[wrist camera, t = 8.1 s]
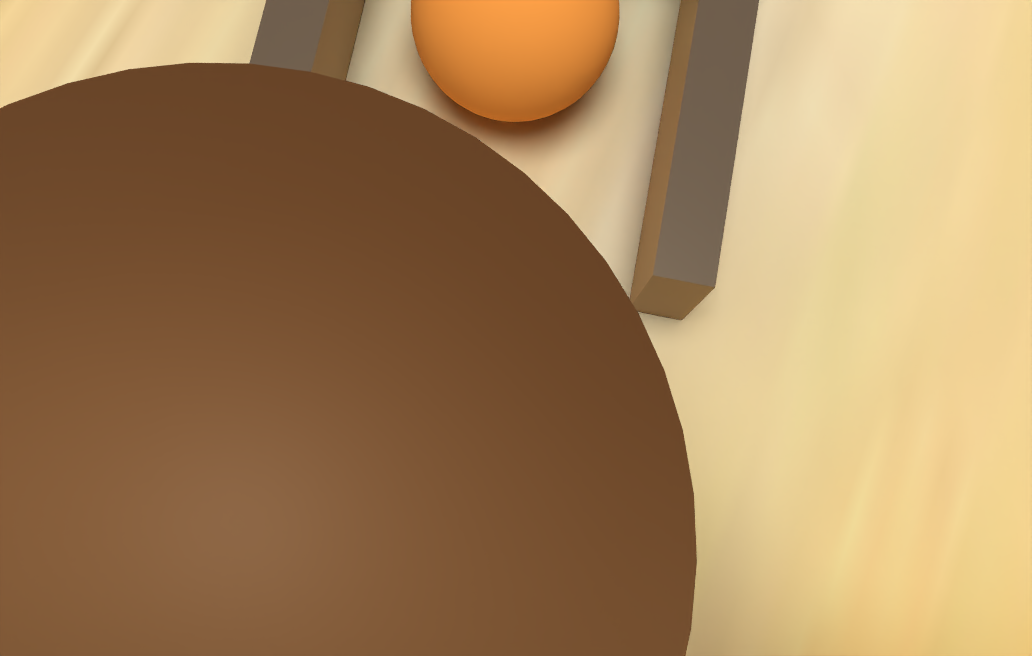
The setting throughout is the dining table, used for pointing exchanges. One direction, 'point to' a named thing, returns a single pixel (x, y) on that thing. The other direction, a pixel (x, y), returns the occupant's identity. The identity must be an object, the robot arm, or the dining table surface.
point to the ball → (515, 52)
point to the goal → (680, 144)
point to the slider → (317, 387)
